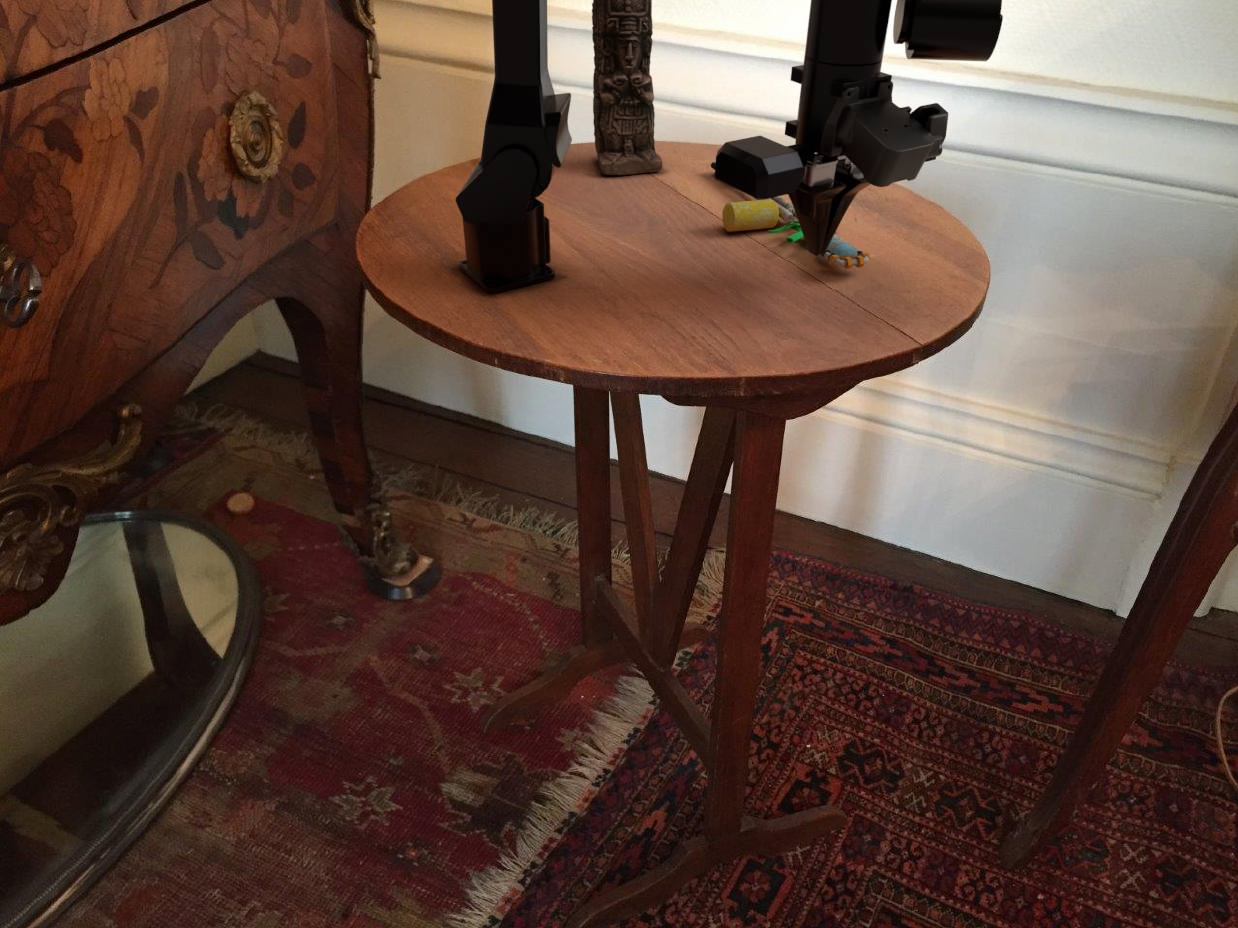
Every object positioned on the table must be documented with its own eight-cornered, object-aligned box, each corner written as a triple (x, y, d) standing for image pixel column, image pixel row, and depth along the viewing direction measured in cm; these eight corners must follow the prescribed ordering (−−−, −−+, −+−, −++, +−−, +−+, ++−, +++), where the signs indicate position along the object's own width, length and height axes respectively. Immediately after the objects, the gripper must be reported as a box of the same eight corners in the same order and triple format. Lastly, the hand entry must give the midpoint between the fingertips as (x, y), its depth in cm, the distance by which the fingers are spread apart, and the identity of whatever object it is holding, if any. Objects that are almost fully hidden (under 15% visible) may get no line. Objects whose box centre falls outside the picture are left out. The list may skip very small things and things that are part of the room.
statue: (602, 178, 104) (601, -27, 93) (588, 157, 110) (586, -38, 98) (663, 173, 106) (669, -29, 94) (646, 153, 111) (650, -40, 99)
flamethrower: (793, 285, 81) (893, 274, 85) (798, 256, 80) (899, 245, 83) (662, 180, 104) (744, 175, 107) (663, 156, 102) (747, 151, 106)
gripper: (820, 100, 62) (792, 318, 71) (1015, 65, 70) (967, 264, 79) (717, 63, 70) (704, 264, 79) (903, 35, 78) (872, 220, 87)
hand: (816, 253), depth 81 cm, fingers closed
